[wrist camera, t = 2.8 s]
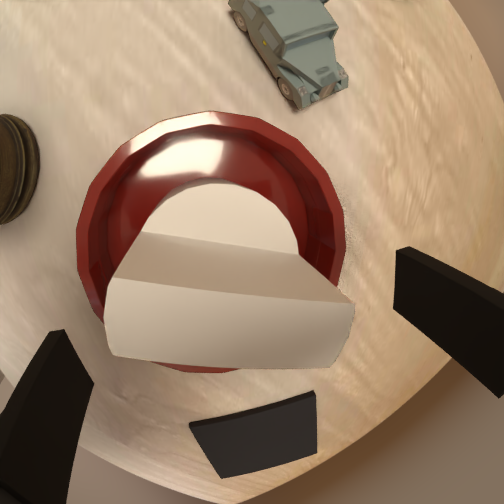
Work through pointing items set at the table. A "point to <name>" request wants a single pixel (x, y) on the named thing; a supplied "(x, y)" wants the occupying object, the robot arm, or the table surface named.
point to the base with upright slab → (223, 287)
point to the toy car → (294, 45)
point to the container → (16, 166)
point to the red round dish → (205, 166)
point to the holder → (259, 436)
